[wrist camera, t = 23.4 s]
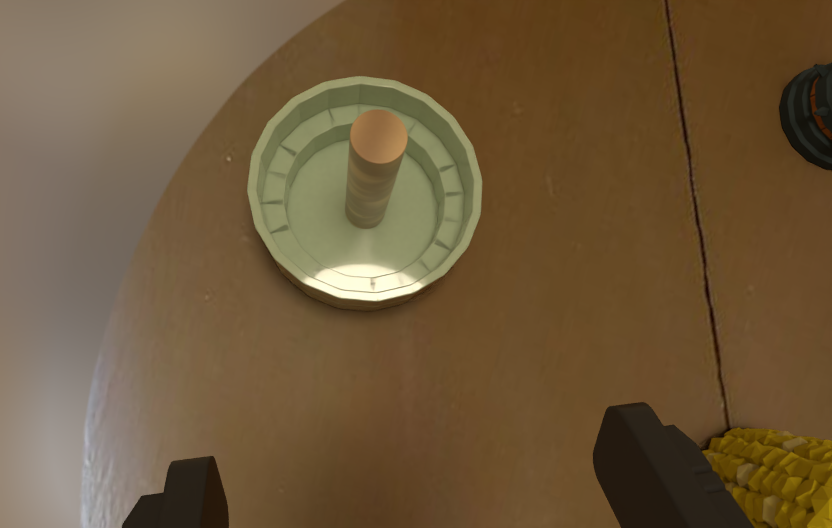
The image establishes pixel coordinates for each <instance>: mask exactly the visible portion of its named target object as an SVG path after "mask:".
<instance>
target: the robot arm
mask: <svg viewBox="0 0 832 528" xmlns="http://www.w3.org/2000/svg"><path fill="white" fill-rule="evenodd" d="M593 464H594V469H595V473H596V476H597V479H598V481H599V483H600V485H601V487H602V489H603V491H604V493H605V496H606V498H607V500H608V502H609V504H610V506H611V508H612V510H613V512H614V514H615V516H616V518H617V520H618V522H619V524H620V526H621V528H754V526H753V525H752V523H751V522H750V520H749V519H748V518H747V516H746V515H745V513H744V512H743V510H742V509H741V507H740V506H739V505H738V503H737V502H736V500H735V499H734V497H733V496H732V494H731V493H730V492H729V490H726V488H725V484H724V483H723V481H722V480H721V479H720V477H719V476H718V474H717V473H716V471H713V470H712V466H711V464H710V463H709V461H708V460H707V458H706V457H705V455H704V454H703V453H702V451H701V450H700V448H699V447H698V445H697V444H696V443H695V442H694V441H693V440H691V439H690V438H689V437H688V436H686V435H685V434H684V433H683V432H682V431H680V430H679V429H678V428H677V427H676V426H674V425H669V426H663V425H662V423H661V422H660V420H659V419H658V417H657V415H656V414H655V412H654V411H653V410H652V408H651V407H650V406H649V405H648V404H646V403H644V402H640V403H632V404H624V405H617V406H610V407H608V408H607V410H606V412H605V415H604V418H603V421H602V424H601V428H600V431H599V434H598V437H597V441H596V444H595V447H594V451H593ZM122 528H229V516H228V505H227V500H226V496H225V493H224V489H223V486H222V482H221V478H220V475H219V471H218V468H217V464H216V461H215V458H214V457H213V456H208V457H200V458H193V459H185V460H177V461H172V462H171V464H170V466H169V469H168V472H167V477H166V482H165V487H164V492H163V493H158V494H151V495H144V496H141V497H140V499H139V500H138V502H137V503H136V505H135V506H134V508H133V509H132V511H131V512H130V514H129V515H128V517H127V518H126V520H125V521H124V523H123V525H122Z"/></svg>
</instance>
